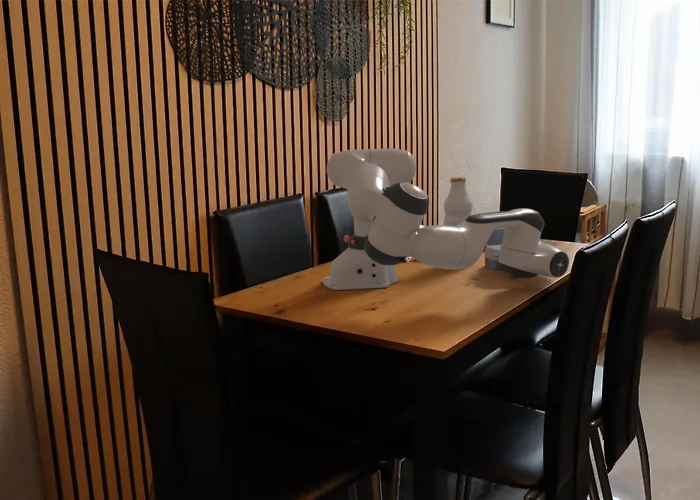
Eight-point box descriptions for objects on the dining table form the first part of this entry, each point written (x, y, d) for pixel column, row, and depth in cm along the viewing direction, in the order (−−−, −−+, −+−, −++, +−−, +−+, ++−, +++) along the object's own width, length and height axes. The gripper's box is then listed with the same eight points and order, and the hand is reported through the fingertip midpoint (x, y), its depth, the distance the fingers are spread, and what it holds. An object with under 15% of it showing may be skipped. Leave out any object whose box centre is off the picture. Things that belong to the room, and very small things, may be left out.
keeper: (495, 270, 217) (495, 229, 214) (487, 266, 222) (487, 226, 219) (517, 267, 219) (517, 227, 216) (509, 264, 224) (509, 225, 221)
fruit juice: (461, 259, 234) (461, 175, 229) (479, 264, 226) (479, 177, 220) (438, 263, 230) (437, 178, 224) (455, 268, 222) (454, 180, 216)
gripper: (497, 268, 201) (476, 259, 214) (560, 261, 207) (535, 253, 220) (497, 246, 200) (476, 238, 213) (560, 240, 205) (536, 233, 219)
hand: (506, 246), depth 217 cm, fingers closed, pressing on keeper
